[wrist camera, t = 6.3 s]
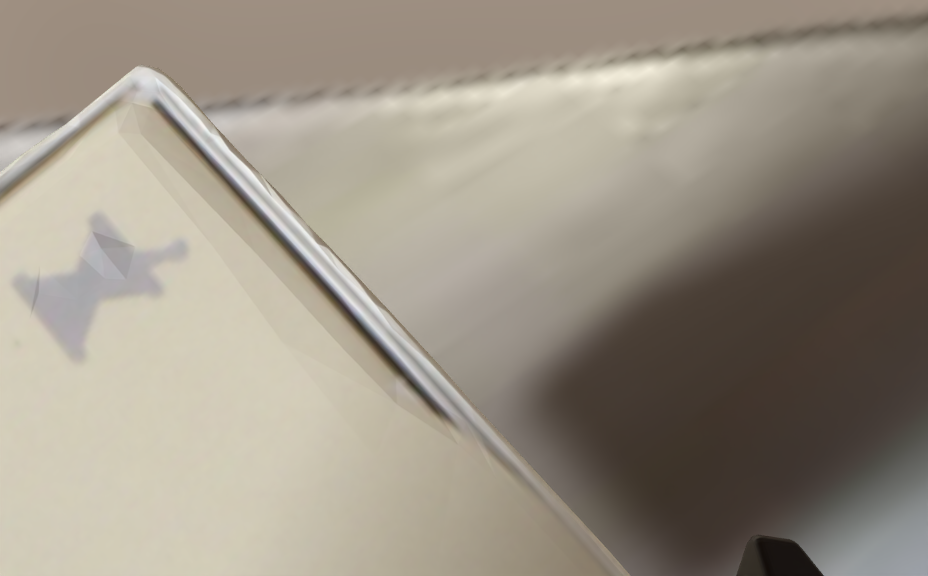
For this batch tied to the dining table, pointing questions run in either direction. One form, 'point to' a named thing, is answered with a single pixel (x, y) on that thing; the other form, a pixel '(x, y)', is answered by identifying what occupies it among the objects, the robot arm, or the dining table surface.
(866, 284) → the dining table surface
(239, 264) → the skincare box
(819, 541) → the dining table surface
